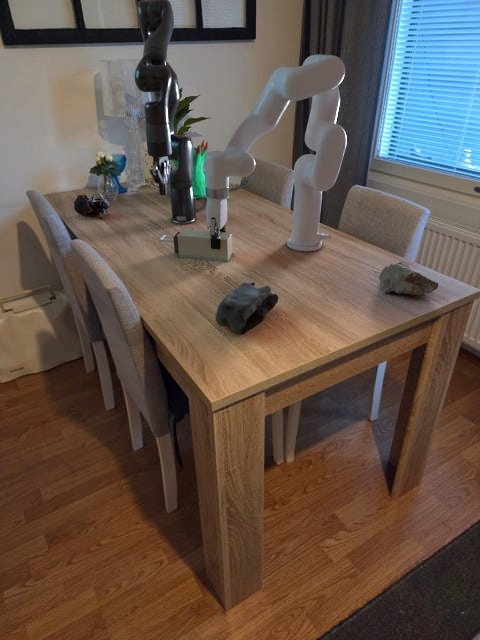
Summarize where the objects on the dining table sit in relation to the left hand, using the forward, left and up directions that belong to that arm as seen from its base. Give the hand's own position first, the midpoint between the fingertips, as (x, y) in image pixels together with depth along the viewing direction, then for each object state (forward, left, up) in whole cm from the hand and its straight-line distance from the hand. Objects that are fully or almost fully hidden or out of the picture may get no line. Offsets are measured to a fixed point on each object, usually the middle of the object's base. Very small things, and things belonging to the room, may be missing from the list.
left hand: (163, 194), depth 147 cm
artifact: (-28, +74, -20) cm, 82 cm away
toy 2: (-54, -45, -20) cm, 73 cm away
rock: (+17, +51, -20) cm, 57 cm away
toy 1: (-4, -53, -20) cm, 57 cm away
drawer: (-4, +8, -19) cm, 21 cm away
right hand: (-9, +16, -16) cm, 24 cm away
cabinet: (-6, +12, -20) cm, 24 cm away
